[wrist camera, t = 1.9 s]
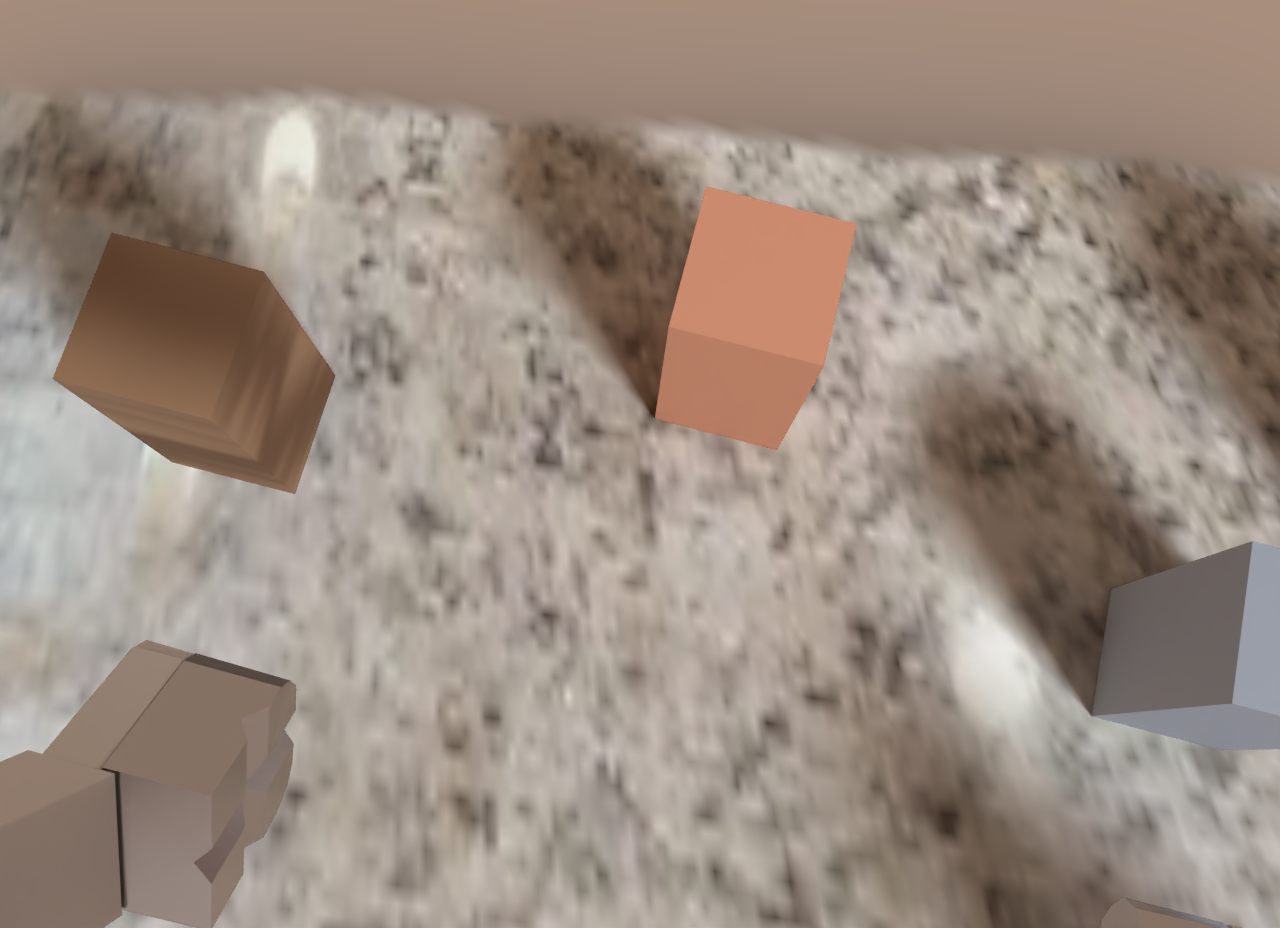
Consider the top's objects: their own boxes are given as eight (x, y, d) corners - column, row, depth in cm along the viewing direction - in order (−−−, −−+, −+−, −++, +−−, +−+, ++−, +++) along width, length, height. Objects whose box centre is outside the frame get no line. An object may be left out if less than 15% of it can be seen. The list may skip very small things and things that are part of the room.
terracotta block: (777, 449, 41) (823, 365, 32) (654, 418, 41) (668, 326, 32) (804, 335, 42) (856, 223, 33) (684, 305, 42) (706, 186, 33)
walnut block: (294, 494, 40) (209, 419, 31) (172, 461, 40) (52, 378, 31) (335, 375, 41) (263, 272, 32) (215, 344, 41) (111, 232, 33)
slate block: (1221, 750, 39) (1400, 747, 30) (1091, 716, 39) (1232, 703, 30) (1237, 621, 40) (1415, 582, 31) (1111, 588, 40) (1252, 541, 31)
